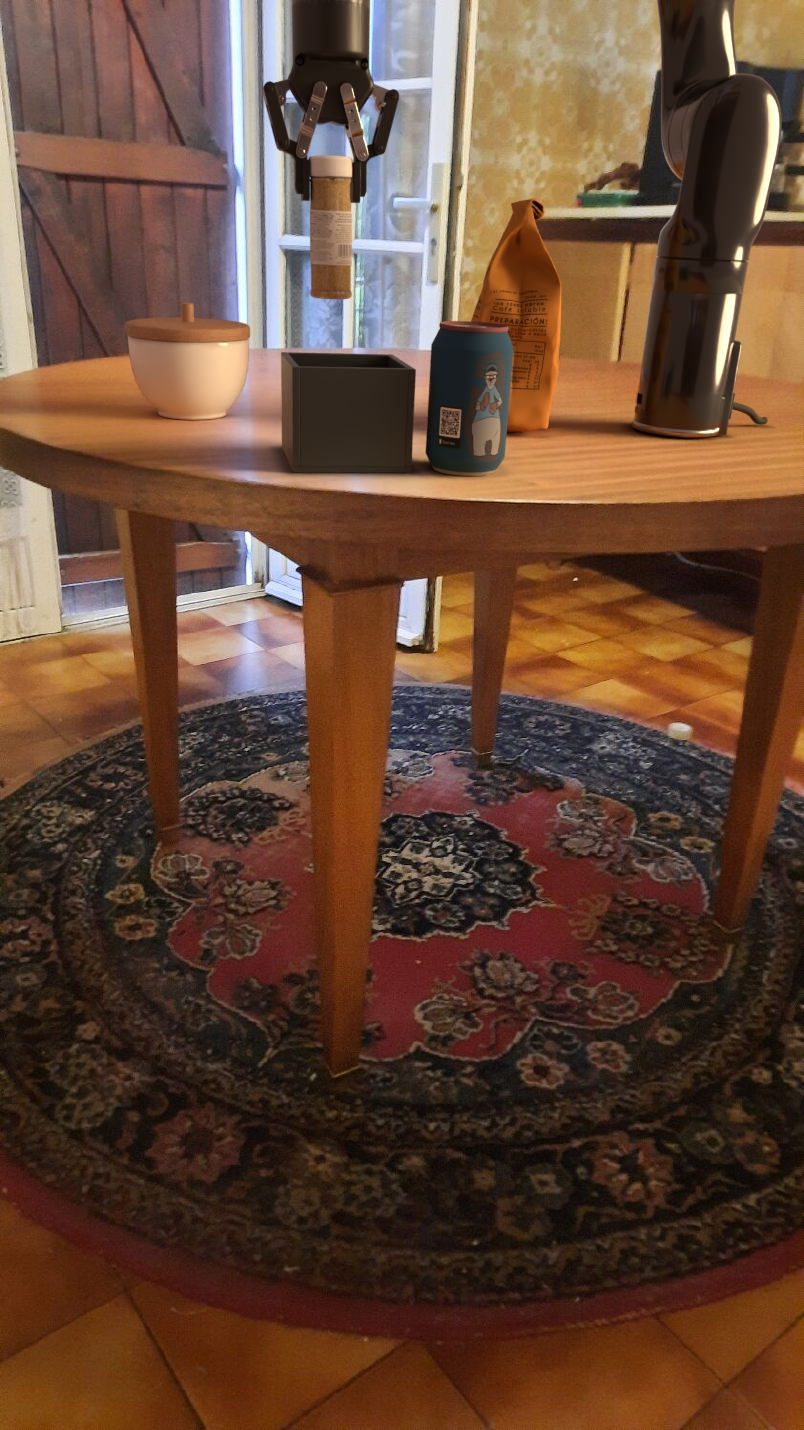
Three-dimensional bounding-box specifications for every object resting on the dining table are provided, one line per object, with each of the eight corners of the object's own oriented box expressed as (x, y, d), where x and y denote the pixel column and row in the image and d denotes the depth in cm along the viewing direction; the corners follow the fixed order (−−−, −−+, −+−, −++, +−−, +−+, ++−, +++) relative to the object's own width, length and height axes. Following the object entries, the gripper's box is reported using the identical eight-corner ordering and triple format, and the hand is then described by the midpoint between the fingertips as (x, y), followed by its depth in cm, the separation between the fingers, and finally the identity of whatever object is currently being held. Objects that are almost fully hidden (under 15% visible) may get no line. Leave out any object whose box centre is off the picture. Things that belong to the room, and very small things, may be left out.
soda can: (447, 457, 94) (456, 318, 89) (516, 468, 91) (528, 325, 86) (410, 469, 89) (417, 322, 83) (482, 481, 86) (493, 330, 80)
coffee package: (546, 419, 115) (568, 202, 106) (554, 440, 104) (580, 199, 95) (458, 414, 116) (473, 198, 106) (457, 434, 105) (473, 194, 95)
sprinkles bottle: (335, 296, 112) (335, 158, 106) (360, 299, 109) (362, 157, 103) (301, 297, 110) (299, 155, 104) (325, 300, 107) (325, 154, 101)
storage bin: (389, 448, 97) (392, 354, 93) (411, 472, 88) (416, 369, 84) (281, 448, 95) (280, 352, 91) (293, 473, 86) (292, 367, 82)
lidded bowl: (127, 405, 112) (119, 297, 108) (241, 404, 116) (238, 300, 111) (136, 425, 102) (128, 307, 97) (261, 424, 105) (259, 309, 101)
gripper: (258, -10, 93) (264, 199, 101) (411, 2, 96) (405, 204, 103) (253, 5, 100) (258, 200, 107) (396, 16, 103) (391, 205, 110)
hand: (330, 201), depth 105 cm, fingers closed on sprinkles bottle, 4 cm apart
